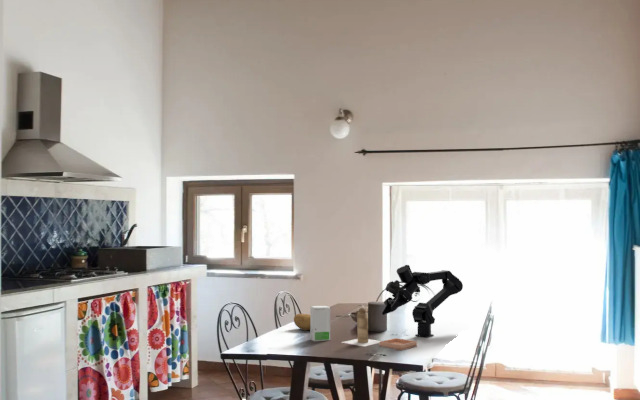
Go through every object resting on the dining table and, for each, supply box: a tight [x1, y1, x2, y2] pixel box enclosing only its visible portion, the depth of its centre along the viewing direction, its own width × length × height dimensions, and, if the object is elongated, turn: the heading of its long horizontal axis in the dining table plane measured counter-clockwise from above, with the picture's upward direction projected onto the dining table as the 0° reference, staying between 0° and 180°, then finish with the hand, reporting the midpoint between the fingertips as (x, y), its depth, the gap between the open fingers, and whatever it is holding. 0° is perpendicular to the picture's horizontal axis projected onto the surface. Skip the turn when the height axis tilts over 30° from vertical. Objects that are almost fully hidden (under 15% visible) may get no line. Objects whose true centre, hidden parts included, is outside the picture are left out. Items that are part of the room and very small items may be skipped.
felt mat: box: [341, 338, 382, 348], centre depth 292 cm, size 14×14×1 cm
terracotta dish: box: [379, 337, 418, 351], centre depth 283 cm, size 12×12×2 cm
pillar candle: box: [367, 301, 388, 333], centre depth 325 cm, size 10×10×15 cm
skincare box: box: [309, 305, 331, 342], centre depth 300 cm, size 8×7×16 cm
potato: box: [293, 313, 311, 331], centre depth 327 cm, size 10×14×8 cm
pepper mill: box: [356, 307, 369, 343], centre depth 292 cm, size 5×5×15 cm
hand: (386, 311), depth 293 cm, fingers open, 9 cm apart
